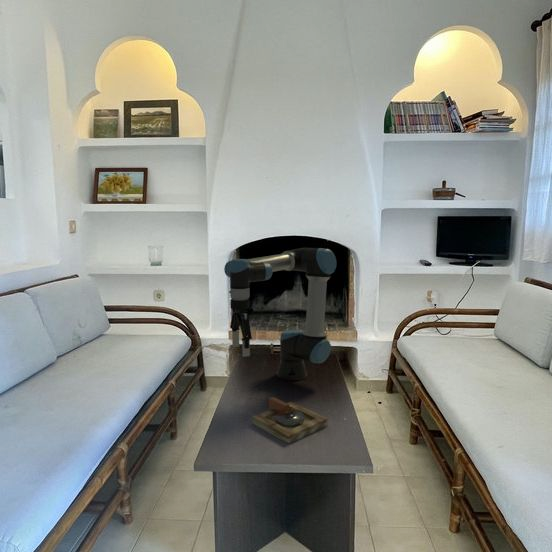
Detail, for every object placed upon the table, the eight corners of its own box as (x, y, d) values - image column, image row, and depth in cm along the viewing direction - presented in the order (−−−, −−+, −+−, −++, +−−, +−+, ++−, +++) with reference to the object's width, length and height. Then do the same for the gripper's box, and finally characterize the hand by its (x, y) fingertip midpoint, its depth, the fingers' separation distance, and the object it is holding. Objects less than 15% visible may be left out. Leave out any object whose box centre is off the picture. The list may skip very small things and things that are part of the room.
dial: (310, 420, 156) (310, 406, 156) (289, 429, 149) (289, 415, 148) (281, 406, 169) (281, 393, 168) (260, 414, 161) (260, 401, 161)
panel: (291, 408, 171) (291, 401, 171) (327, 425, 156) (327, 418, 156) (252, 423, 158) (252, 415, 158) (288, 443, 143) (288, 435, 143)
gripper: (222, 294, 173) (223, 344, 175) (240, 304, 150) (241, 361, 152) (239, 293, 176) (240, 342, 178) (259, 303, 153) (260, 359, 155)
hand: (240, 351), depth 165 cm, fingers open, 13 cm apart
